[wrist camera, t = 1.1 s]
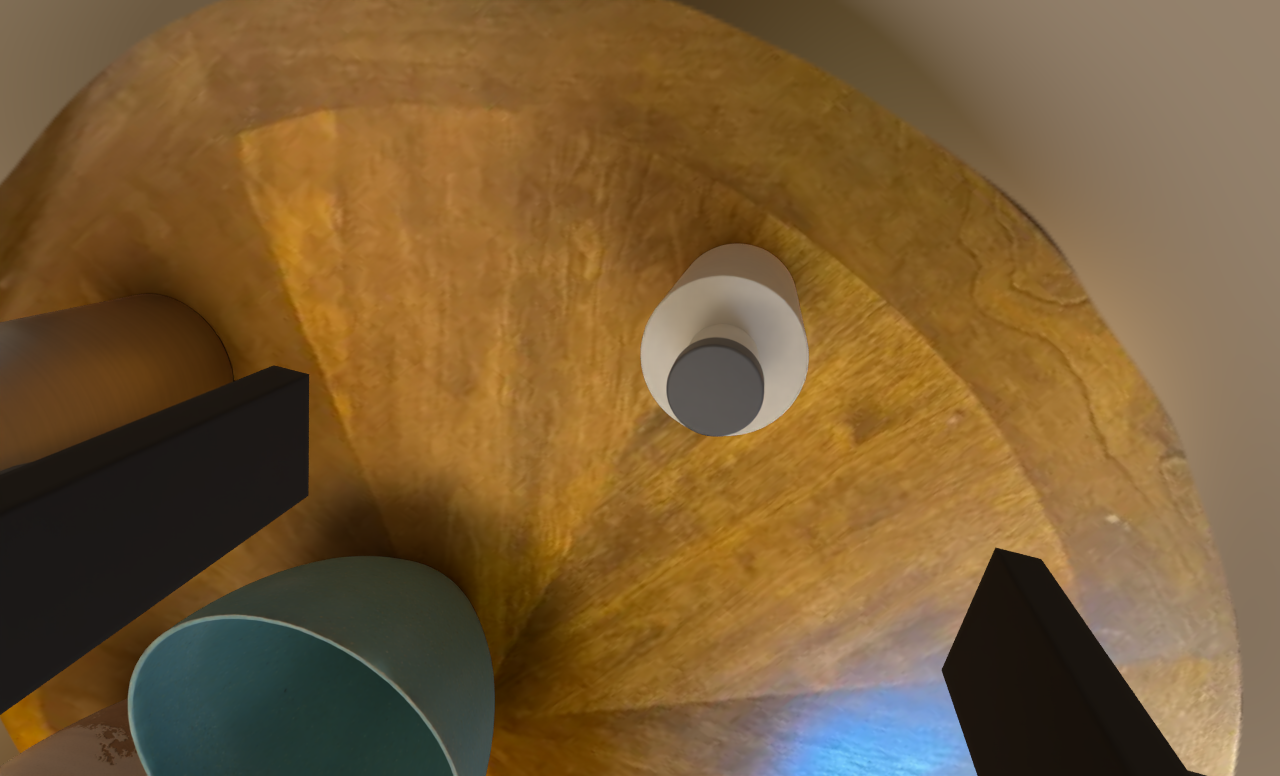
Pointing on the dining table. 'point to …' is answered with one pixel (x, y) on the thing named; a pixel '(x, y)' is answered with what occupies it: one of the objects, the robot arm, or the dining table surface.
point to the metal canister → (100, 371)
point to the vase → (83, 749)
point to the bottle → (727, 343)
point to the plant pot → (320, 678)
